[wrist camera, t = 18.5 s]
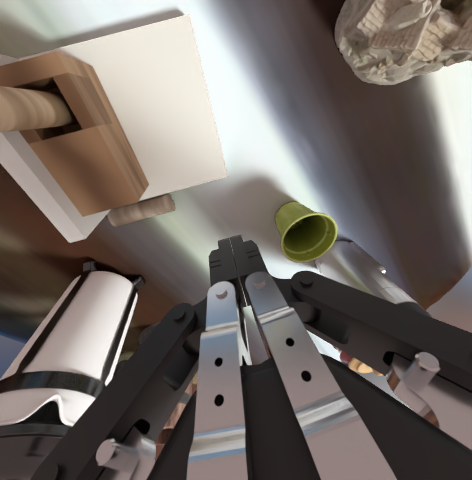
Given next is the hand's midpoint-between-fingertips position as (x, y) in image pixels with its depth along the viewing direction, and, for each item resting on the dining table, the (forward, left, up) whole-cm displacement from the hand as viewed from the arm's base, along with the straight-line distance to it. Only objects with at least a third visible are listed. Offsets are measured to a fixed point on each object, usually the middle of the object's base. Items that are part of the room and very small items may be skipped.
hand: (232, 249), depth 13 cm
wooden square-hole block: (+13, -7, -22) cm, 26 cm away
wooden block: (+13, +5, -23) cm, 27 cm away
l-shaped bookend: (+8, -7, -23) cm, 26 cm away
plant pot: (-12, +13, -23) cm, 29 cm away
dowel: (+13, -10, -19) cm, 26 cm away
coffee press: (+28, +19, -23) cm, 41 cm away
